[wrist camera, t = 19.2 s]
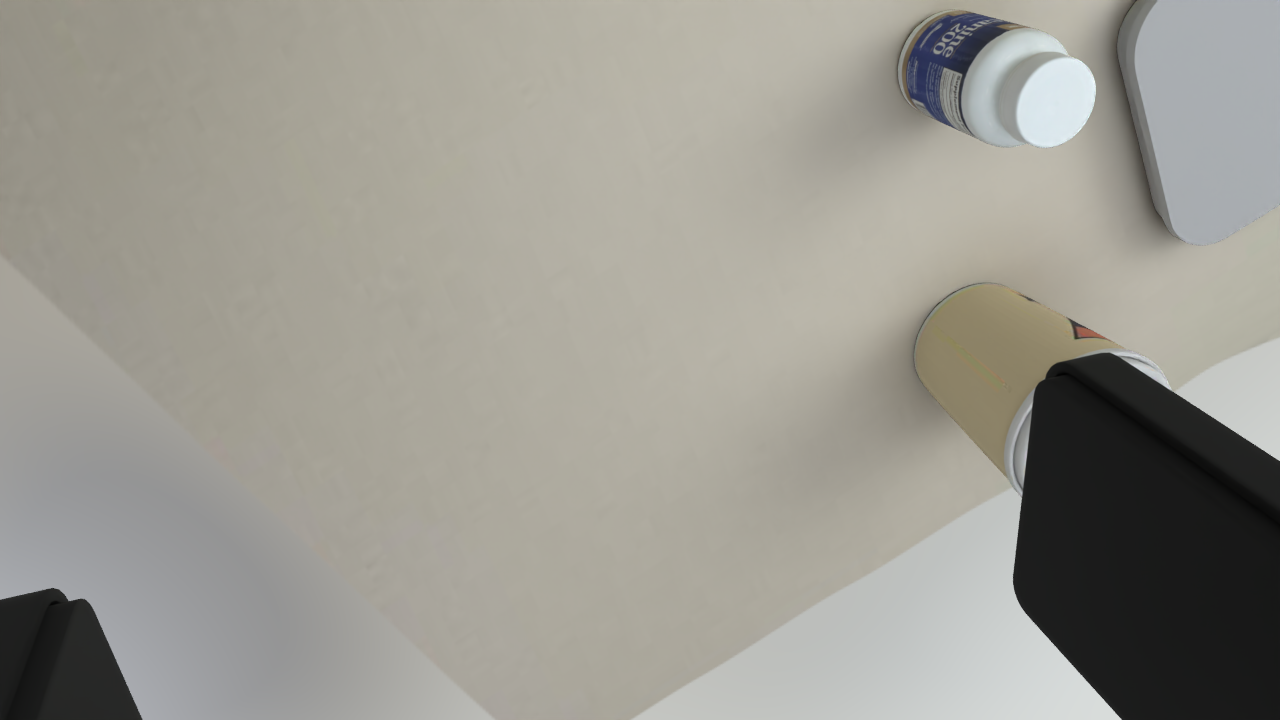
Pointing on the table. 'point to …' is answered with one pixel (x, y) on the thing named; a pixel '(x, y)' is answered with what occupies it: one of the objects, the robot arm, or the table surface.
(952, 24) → the pill bottle
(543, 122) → the table surface
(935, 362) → the beige lidded canister
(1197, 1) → the tablet
